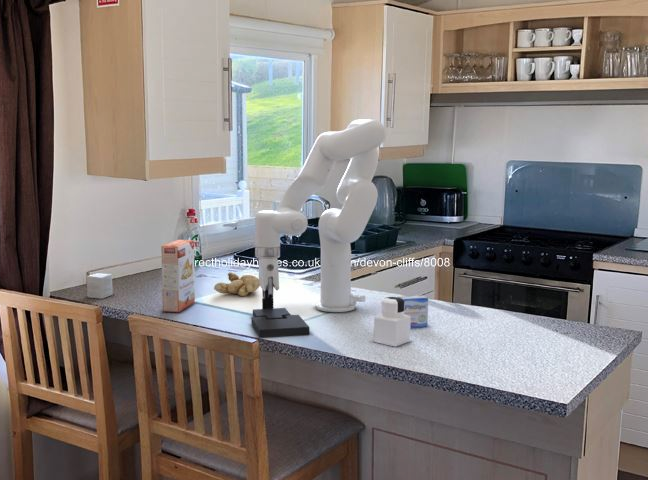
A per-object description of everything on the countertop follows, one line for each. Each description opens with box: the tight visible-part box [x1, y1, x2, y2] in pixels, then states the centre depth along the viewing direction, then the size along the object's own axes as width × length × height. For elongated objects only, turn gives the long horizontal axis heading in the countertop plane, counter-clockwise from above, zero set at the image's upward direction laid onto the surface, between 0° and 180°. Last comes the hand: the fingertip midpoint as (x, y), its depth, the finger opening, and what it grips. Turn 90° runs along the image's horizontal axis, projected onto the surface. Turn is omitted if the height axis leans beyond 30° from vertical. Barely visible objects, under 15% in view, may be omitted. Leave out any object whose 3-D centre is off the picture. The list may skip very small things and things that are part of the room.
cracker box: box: [160, 239, 196, 313], centre depth 240 cm, size 14×6×21 cm, turn 168°
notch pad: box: [251, 314, 310, 339], centre depth 216 cm, size 14×14×2 cm
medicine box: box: [398, 294, 429, 329], centre depth 220 cm, size 8×4×9 cm, turn 105°
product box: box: [86, 272, 114, 300], centre depth 256 cm, size 6×6×7 cm
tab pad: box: [252, 307, 291, 320], centre depth 226 cm, size 10×11×2 cm
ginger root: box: [213, 271, 260, 297], centre depth 262 cm, size 16×16×8 cm
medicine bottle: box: [373, 296, 411, 348], centre depth 203 cm, size 7×7×12 cm
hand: (267, 311), depth 233 cm, fingers closed
